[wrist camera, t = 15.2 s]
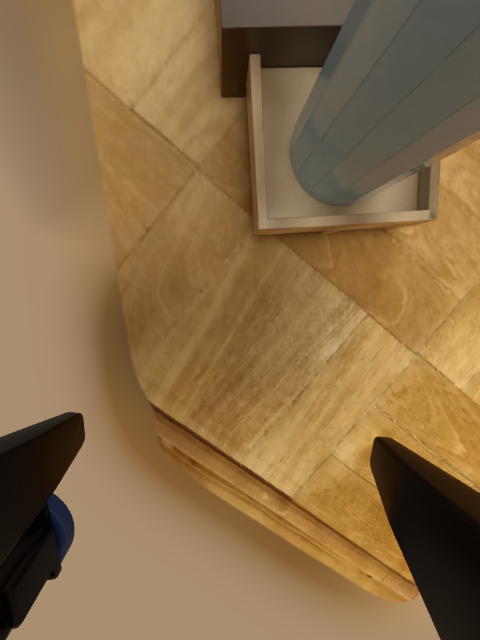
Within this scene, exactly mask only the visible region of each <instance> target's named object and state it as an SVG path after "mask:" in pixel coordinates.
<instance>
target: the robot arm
mask: <svg viewBox="0 0 480 640" xmlns="http://www.w3.org/2000/svg"><path fill="white" fill-rule="evenodd" d="M84 440H85V431H84V420H83V416H82V414H81V413H73V412H67V413H64V414H61V415H59V416H56V417H53V418H51V419H48V420H45V421H42V422H40V423H37V424H34V425H32V426H29V427H26V428H23V429H21V430H18V431H16V432H13V433H10V434H7V435H4V436H2V437H0V640H6V639H7V637H8V635H9V633H10V632H11V630H12V629H16V628H18V627H19V626H20V625H21V623H22V622H23V621H24V619H25V617H26V615H27V614H28V612H29V610H30V609H31V607H32V605H33V603H34V601H35V600H36V598H37V596H38V595H39V593H40V591H41V589H42V588H43V586H44V584H45V582H46V581H47V580H52V579H55V578H57V577H58V575H59V573H60V571H61V569H62V567H61V562H60V558H59V552H58V547H57V543H56V538H55V533H54V529H53V524H52V519H51V515H50V510H49V505H48V503H47V501H48V499H49V498H50V497H51V495H52V494H53V492H54V491H55V489H56V488H57V486H58V484H59V483H60V481H61V479H62V478H63V476H64V474H65V473H66V471H67V470H68V468H69V466H70V465H71V463H72V461H73V460H74V458H75V456H76V455H77V453H78V451H79V449H80V448H81V447H82V445H83V442H84ZM370 467H371V470H372V473H373V476H374V479H375V482H376V485H377V488H378V491H379V494H380V497H381V500H382V503H383V506H384V509H385V512H386V515H387V518H388V521H389V523H390V526H391V528H392V531H393V533H394V535H395V538H396V540H397V542H398V544H399V547H400V549H401V551H402V553H403V556H404V558H405V560H406V562H407V565H408V567H409V569H410V571H411V574H412V576H413V578H414V581H415V583H416V585H417V587H418V590H419V592H420V594H421V596H422V599H423V601H424V603H425V605H426V607H427V610H428V612H429V614H430V617H431V619H432V621H433V623H434V625H435V628H436V630H437V632H438V635H439V637H440V639H441V640H480V493H479V492H477V491H476V490H474V489H473V488H471V487H469V486H468V485H466V484H465V483H463V482H461V481H460V480H458V479H456V478H455V477H453V476H452V475H450V474H448V473H447V472H445V471H444V470H442V469H440V468H439V467H437V466H435V465H434V464H432V463H431V462H429V461H427V460H426V459H424V458H423V457H421V456H419V455H418V454H416V453H414V452H413V451H411V450H410V449H408V448H406V447H405V446H403V445H402V444H400V443H398V442H397V441H395V440H393V439H392V438H389V437H376V438H375V439H374V441H373V447H372V452H371V458H370Z"/></svg>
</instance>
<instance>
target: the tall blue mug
mask: <svg viewBox="0 0 480 640" xmlns="http://www.w3.org/2000/svg"><path fill="white" fill-rule="evenodd" d="M479 139H480V0H355V1H354V3H353V5H352V7H351V9H350V11H349V13H348V16H347V18H346V20H345V22H344V24H343V26H342V28H341V30H340V32H339V34H338V36H337V38H336V40H335V43H334V45H333V47H332V49H331V51H330V53H329V55H328V57H327V59H326V61H325V63H324V65H323V67H322V70H321V72H320V74H319V76H318V78H317V80H316V82H315V84H314V86H313V88H312V90H311V92H310V94H309V97H308V99H307V101H306V103H305V105H304V107H303V109H302V111H301V113H300V115H299V117H298V119H297V121H296V124H295V127H294V130H293V133H292V137H291V143H290V158H291V164H292V168H293V171H294V174H295V176H296V178H297V180H298V182H299V183H300V185H301V186H302V187H303V189H304V190H305V191H306V192H307V193H308V194H309V195H310V196H312V197H313V198H315V199H316V200H318V201H320V202H322V203H325V204H328V205H332V206H348V205H352V204H355V203H358V202H360V201H362V200H365V199H368V198H370V197H372V196H374V195H376V194H377V193H379V192H381V191H383V190H385V189H387V188H389V187H391V186H393V185H394V184H396V183H398V182H400V181H402V180H404V179H406V178H408V177H409V176H411V175H413V174H415V173H417V172H419V171H421V170H423V169H425V168H426V167H428V166H430V165H432V164H434V163H436V162H438V161H440V160H441V159H443V158H445V157H447V156H449V155H451V154H453V153H455V152H456V151H458V150H460V149H462V148H464V147H466V146H468V145H470V144H472V143H473V142H475V141H477V140H479Z"/></svg>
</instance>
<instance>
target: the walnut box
mask: <svg viewBox="0 0 480 640" xmlns="http://www.w3.org/2000/svg"><path fill="white" fill-rule="evenodd" d="M354 1H355V0H215V12H216V27H217V41H218V56H219V71H220V86H221V96H222V97H234V96H247V113H248V131H249V150H250V169H251V187H252V206H253V224H254V235H267V234H284V233H302V232H319V231H321V234H329V233H335V232H338V231H340V230H354V229H371V228H389V227H406V226H415V225H418V224H422V223H426V222H430V221H434V220H437V215H438V195H439V177H440V161H438V162H436V163H434V164H432V165H430V166H428V167H426V168H425V169H423V170H421V171H419V172H417V173H415V174H413V175H411V176H409V177H408V178H406V179H404V180H402V181H400V182H398V183H396V184H394V185H393V186H391V187H389V188H387V189H385V190H383V191H381V192H379V193H377V194H376V195H374V196H372V197H370V198H368V199H365V200H362V201H360V202H358V203H355V204H352V205H348V206H332V205H328V204H325V203H322V202H320V201H318V200H316V199H315V198H313V197H312V196H310V195H309V194H308V193H307V192H306V191H305V190H304V189H303V187H302V186H301V185H300V183H299V182H298V180H297V178H296V176H295V174H294V171H293V168H292V164H291V158H290V143H291V137H292V133H293V130H294V127H295V124H296V121H297V119H298V117H299V115H300V113H301V111H302V109H303V107H304V105H305V103H306V101H307V99H308V97H309V94H310V92H311V90H312V88H313V86H314V84H315V82H316V80H317V78H318V76H319V74H320V72H321V70H322V67H323V65H324V63H325V61H326V59H327V57H328V55H329V53H330V51H331V49H332V47H333V45H334V43H335V40H336V38H337V36H338V34H339V32H340V30H341V28H342V26H343V24H344V22H345V20H346V18H347V16H348V13H349V11H350V9H351V7H352V5H353V3H354Z"/></svg>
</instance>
